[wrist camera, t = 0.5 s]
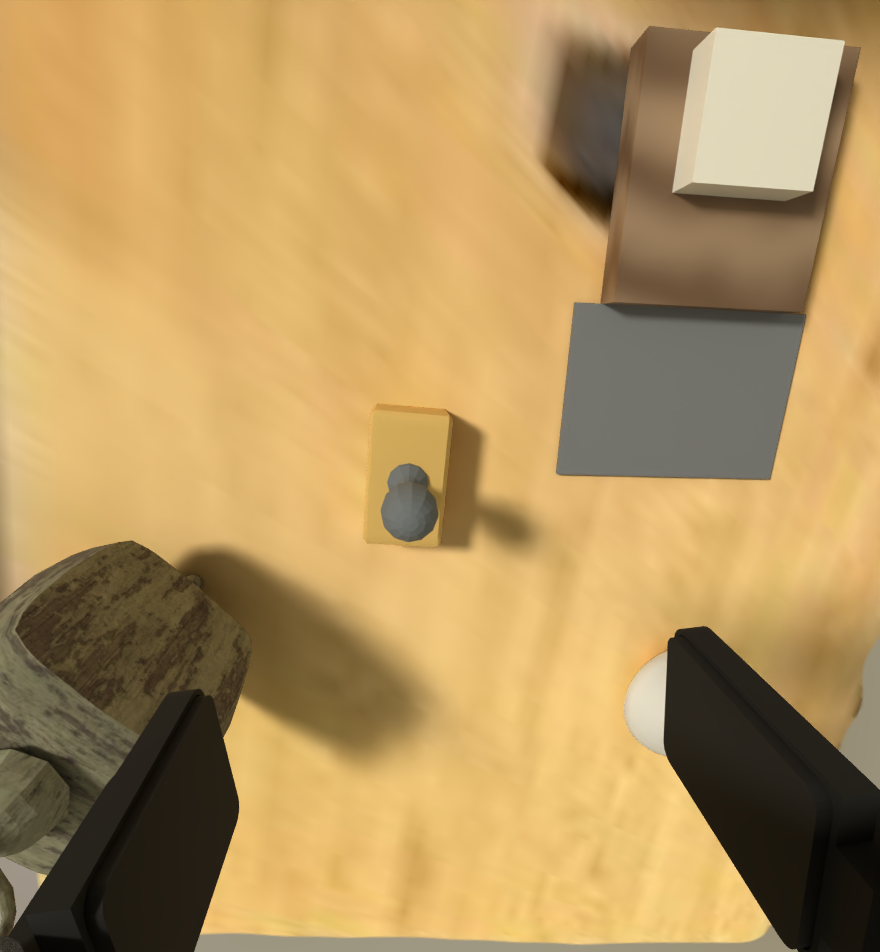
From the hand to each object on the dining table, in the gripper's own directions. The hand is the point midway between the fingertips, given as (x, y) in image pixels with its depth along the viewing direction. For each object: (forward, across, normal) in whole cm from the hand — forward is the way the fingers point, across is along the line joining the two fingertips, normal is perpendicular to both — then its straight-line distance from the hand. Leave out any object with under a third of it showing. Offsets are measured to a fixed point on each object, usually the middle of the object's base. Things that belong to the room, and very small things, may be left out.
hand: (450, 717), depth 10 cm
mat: (+30, -21, -1) cm, 37 cm away
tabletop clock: (+30, +20, +11) cm, 38 cm away
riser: (+30, -23, -15) cm, 41 cm away
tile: (+28, -23, -18) cm, 40 cm away
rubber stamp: (+30, +1, +3) cm, 30 cm away
